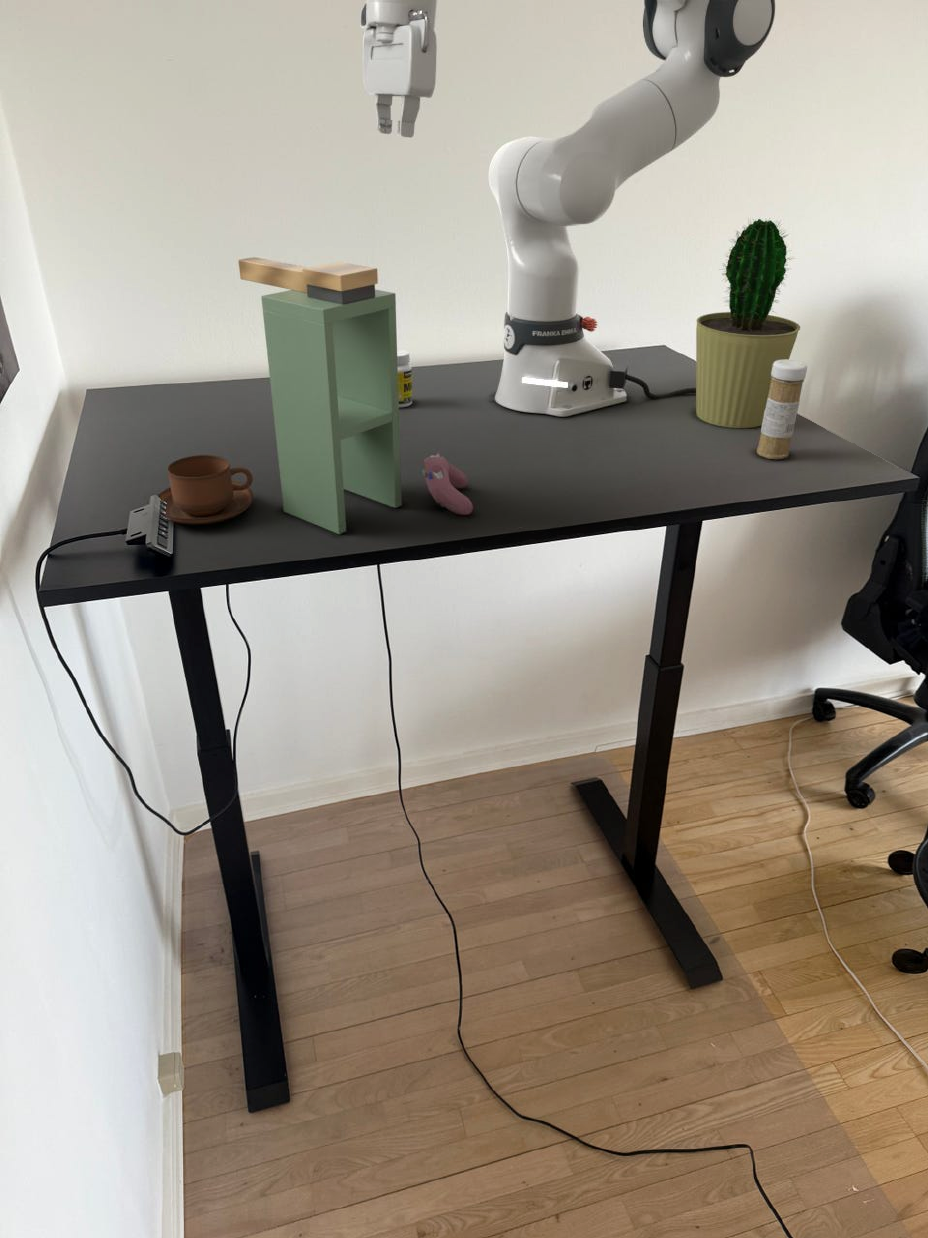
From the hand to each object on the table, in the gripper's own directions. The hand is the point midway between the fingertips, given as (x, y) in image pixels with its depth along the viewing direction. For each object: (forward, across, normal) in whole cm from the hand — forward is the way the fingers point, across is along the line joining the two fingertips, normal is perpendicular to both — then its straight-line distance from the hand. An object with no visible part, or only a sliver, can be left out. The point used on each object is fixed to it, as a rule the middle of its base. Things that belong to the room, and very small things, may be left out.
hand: (394, 134), depth 120 cm
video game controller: (+41, -32, 0) cm, 51 cm away
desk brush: (+16, -25, +18) cm, 35 cm away
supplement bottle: (+40, +8, -6) cm, 41 cm away
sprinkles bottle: (+35, -33, -50) cm, 69 cm away
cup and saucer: (+44, -24, +29) cm, 58 cm away
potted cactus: (+34, -16, -55) cm, 67 cm away
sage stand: (+42, -29, +13) cm, 52 cm away
